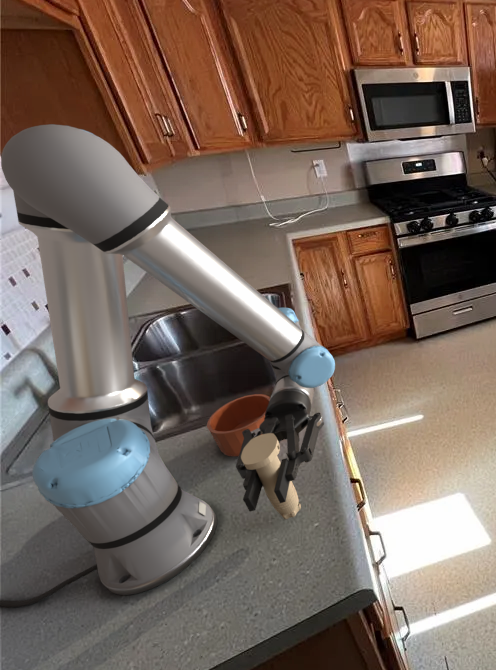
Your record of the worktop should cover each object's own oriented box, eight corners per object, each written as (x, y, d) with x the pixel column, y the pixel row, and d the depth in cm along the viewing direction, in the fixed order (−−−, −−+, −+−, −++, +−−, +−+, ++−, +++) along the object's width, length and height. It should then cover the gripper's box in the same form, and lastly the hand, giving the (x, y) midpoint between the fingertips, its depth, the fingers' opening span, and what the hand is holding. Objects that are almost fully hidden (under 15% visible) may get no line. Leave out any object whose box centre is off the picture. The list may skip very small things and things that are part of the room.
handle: (308, 492, 74) (279, 429, 67) (304, 522, 69) (273, 458, 62) (278, 501, 73) (246, 438, 66) (273, 533, 67) (237, 468, 60)
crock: (230, 466, 83) (216, 442, 80) (213, 438, 91) (200, 416, 88) (290, 431, 91) (280, 409, 88) (270, 408, 99) (260, 387, 95)
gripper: (339, 408, 85) (330, 501, 65) (251, 429, 81) (213, 534, 62) (329, 379, 82) (316, 467, 62) (236, 399, 78) (190, 500, 58)
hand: (264, 500), depth 62 cm, fingers closed on handle, 3 cm apart
